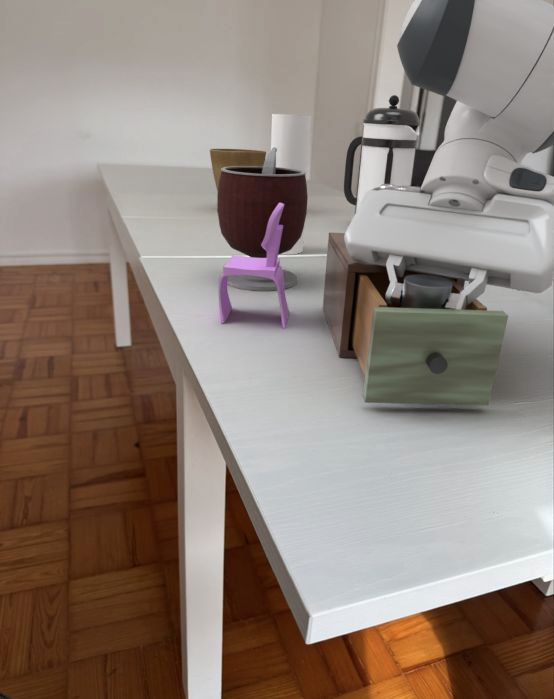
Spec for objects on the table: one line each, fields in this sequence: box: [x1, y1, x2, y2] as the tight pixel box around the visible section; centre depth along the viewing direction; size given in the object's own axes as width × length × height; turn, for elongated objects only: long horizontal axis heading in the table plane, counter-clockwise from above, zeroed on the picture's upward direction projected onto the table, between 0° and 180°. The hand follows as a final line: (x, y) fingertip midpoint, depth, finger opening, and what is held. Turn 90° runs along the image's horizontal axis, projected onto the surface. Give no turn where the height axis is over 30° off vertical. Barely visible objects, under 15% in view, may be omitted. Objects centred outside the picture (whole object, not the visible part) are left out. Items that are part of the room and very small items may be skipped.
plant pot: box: [209, 148, 267, 192], centre depth 147 cm, size 15×15×16 cm
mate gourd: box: [216, 147, 309, 292], centre depth 86 cm, size 16×14×20 cm
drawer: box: [349, 272, 509, 406], centre depth 55 cm, size 17×12×9 cm
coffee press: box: [343, 94, 422, 225], centre depth 128 cm, size 17×16×30 cm
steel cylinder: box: [400, 274, 452, 309], centre depth 53 cm, size 4×4×7 cm
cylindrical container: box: [270, 113, 312, 256], centre depth 105 cm, size 7×7×25 cm
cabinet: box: [322, 232, 466, 359], centre depth 68 cm, size 17×13×11 cm
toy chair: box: [217, 203, 290, 329], centre depth 70 cm, size 8×9×15 cm
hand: (422, 308), depth 52 cm, fingers closed on steel cylinder, 4 cm apart
